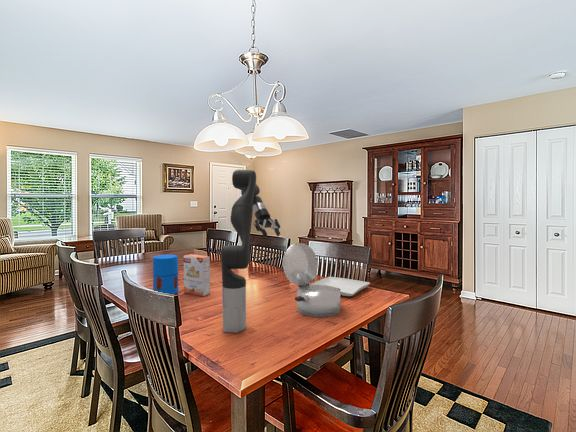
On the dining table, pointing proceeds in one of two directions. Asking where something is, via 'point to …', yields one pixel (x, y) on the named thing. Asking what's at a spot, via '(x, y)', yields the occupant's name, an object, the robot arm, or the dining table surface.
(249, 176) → the robot arm
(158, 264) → the thermos
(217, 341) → the dining table surface
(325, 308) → the pot
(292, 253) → the lid
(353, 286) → the square plate
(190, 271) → the cracker box
